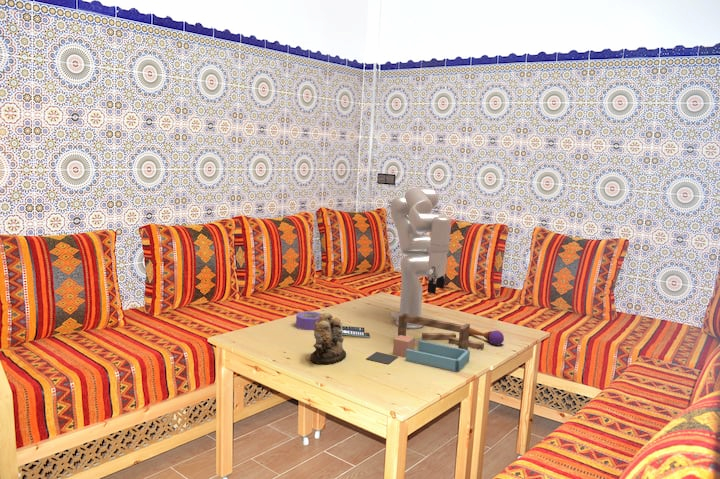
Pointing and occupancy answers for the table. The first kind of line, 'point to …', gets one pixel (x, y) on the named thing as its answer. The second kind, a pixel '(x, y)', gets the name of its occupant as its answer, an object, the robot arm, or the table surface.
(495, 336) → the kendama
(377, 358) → the grey square tile
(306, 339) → the table surface
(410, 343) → the clay-red block
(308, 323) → the tape roll
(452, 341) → the plain stick
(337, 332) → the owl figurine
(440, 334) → the plain stick
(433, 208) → the robot arm
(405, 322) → the crook rake
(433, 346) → the cubby
